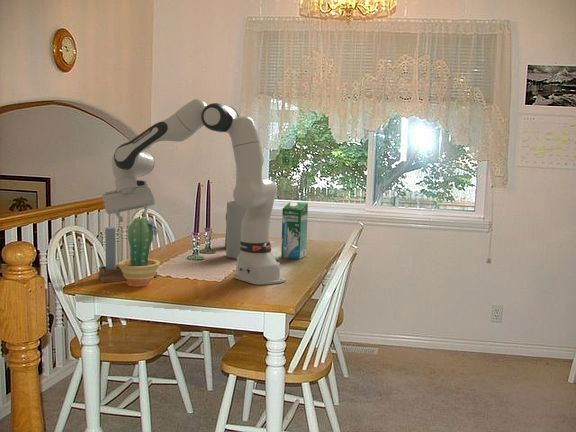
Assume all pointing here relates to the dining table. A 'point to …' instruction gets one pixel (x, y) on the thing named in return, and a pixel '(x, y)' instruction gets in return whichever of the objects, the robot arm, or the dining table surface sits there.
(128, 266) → the potted cactus
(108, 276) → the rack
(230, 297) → the dining table surface
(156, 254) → the dining table surface
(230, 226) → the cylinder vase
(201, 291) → the dining table surface
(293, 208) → the milk carton
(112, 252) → the blue-grey rectangular bar
